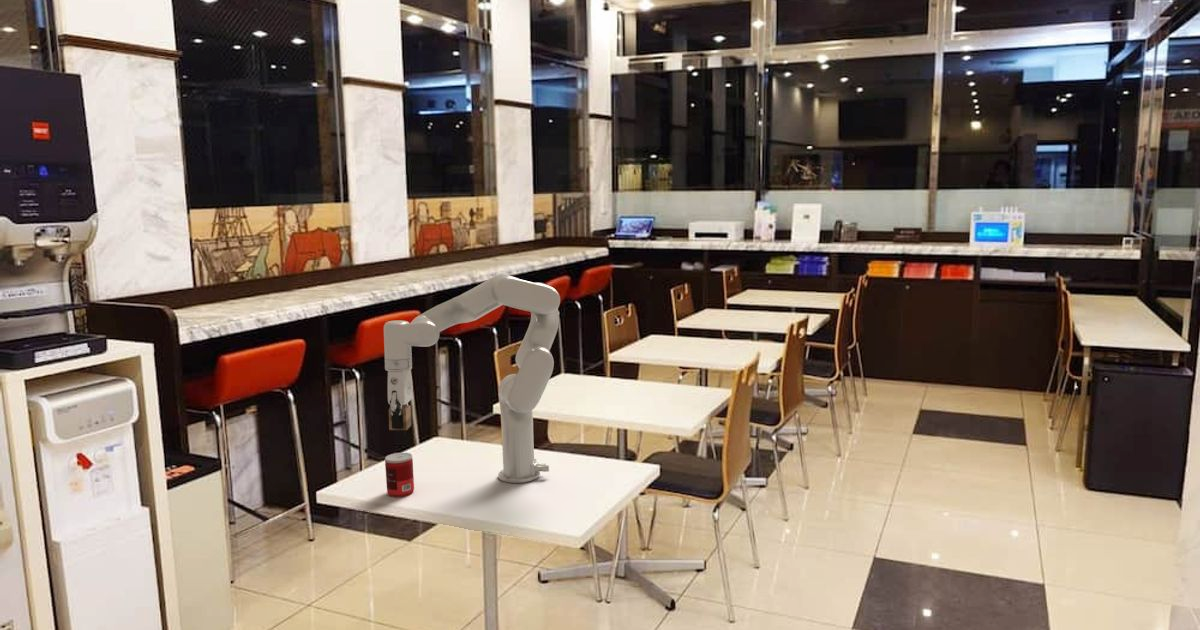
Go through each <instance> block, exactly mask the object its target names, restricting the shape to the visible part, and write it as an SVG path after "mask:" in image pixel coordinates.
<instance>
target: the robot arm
mask: <svg viewBox="0 0 1200 630" xmlns="http://www.w3.org/2000/svg"><path fill="white" fill-rule="evenodd" d="M560 304H561V296H560V293H559V292H558V291H557V290H556V289H555V288H554V287H552V286H551V285H548V284H546V283H544V282H538V281H537V282H532V281H528V280H524V279H520V278H519V277H515V276H512V275H509V274H508V273H507V274H506V273H499V274H496V275H494V276H492V277H491V278H489V279H487V280H485V281H483V282H482V283H480V284H477V286H474V287H473V288H471V289H469V290H467V291H465V292H463V293H461V294H460V295H457V296H455V297H452V298H451V299H448V300H447V301H444V302H442V303H440V304H437V305H435V306H434V307H432V308H430V309H428V310H426V311H424V312H423V313H421V314H419V315H417V316H416V317H415V318H413V320H412V321H411V322H409V321H407V320H401V319H400V320H390V321H389V320H388V321H386V322H385V323H384V325H383V344H384V345H383V347H384V348H383V349H384V370H385V371H387V402H388V404H389V405H390V406H389V409H390V408H391V418H392V429H403V415H402V405H409V403H410V401H411V400H412V399H413V397H414V393H413V377H412V369H413V356H412V355H413V354H412V347H425V348H426V347H427V348H428V347H431V346H432V347H433V346H434V345H435V344H436V343H437V342H438V341H439V339H440V333H441V332H443V331H444V330H446V329H448V328H450V327H453V326H455V325H458V324H465V323H471V322H474V321H477V320H478V319H480V318H482V317H484V316H485V315H487V314H489V313H490V312H492V311H494V310H496V309H498V308H499V307H501V306H506V307H509V308H514V309H518V310H522V311H526V312H530V314H531V315H530V322H529V325H528V328H527V330H526V332H525V335H524V337H523V339H522V341H521V344H520V346H519V348H518V350H517V352H516V355H515V364H516V366H517V368H518V371H517V373H512V374H508V375H506V376H505V377H504V378H503V379H502V380H501V381H500V383H499V386H498V393H497V395H498V401H499V408H500V421H501V422H500V423H501V440H502V441H501V444H502V445H501V446H502V467H503V469H502V470H499V472H498V479H499V480H500V481H502V482H504V483H511V484H522V483H529V482H532V481H535V480H537V479H538V478H539V477H540V475H541V472H545V473H546V472H547V473H548V472H550V465H548V464H547V463H539V462H537V458H535V448H534V446H535V445H534V444H535V443H534V417H533V416H534V415H533V410H534V409H536V407H537V405H538V404H539V402H540V400H541V398H542V396H543V394H544V392H545V390H546V387H547V385H548V384H549V383H548V382H549V381H550V378H551V376H552V374H553V372H554V366H555V365H554V364H555V361H554V357H553V355H552V352H551V348H552V345H553V343H554V340H555V338H556V336H557V332H558V329H559V326H560V313H559V307H560ZM397 406H399V409H398V408H397Z"/></svg>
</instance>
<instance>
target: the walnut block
mask: <svg viewBox="0 0 1200 630" xmlns="http://www.w3.org/2000/svg"><path fill="white" fill-rule="evenodd" d="M397 408H398V409H399V406H397ZM411 408H412V407H411V404H410V405H409V404H408V405H402V415H403V429H392V418H391V408H390V407H389V408H388V429H389V431H408V430H409V429H410V427H412V409H411Z"/></svg>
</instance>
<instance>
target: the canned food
mask: <svg viewBox="0 0 1200 630" xmlns="http://www.w3.org/2000/svg"><path fill="white" fill-rule="evenodd" d="M413 460H414V459H413V455H412V454H411V453H409V452H394V453H391V454H388V455H386V456H385V457H384V464H385V466H384V467H385V483H386V493H387V495H388V496H389V497H391V498H404V497H407V496H410V495H412V494H413V493H414V491H415V478H414V464H413V462H414V461H413Z"/></svg>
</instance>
